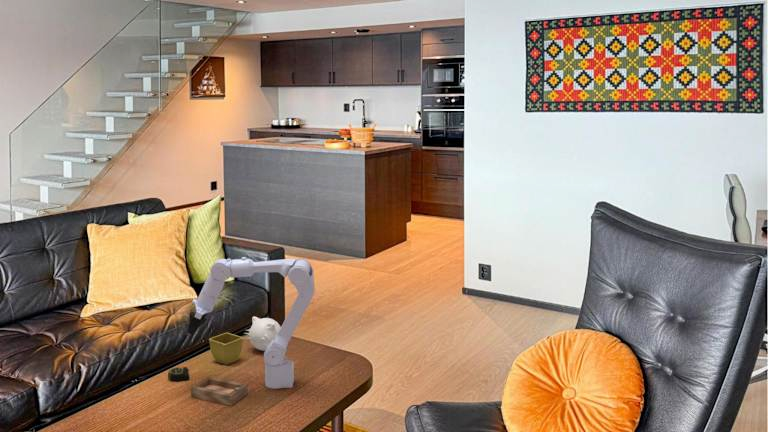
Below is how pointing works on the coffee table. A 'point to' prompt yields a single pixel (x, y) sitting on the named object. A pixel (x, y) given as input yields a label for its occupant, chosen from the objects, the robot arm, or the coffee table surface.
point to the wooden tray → (219, 391)
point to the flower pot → (226, 347)
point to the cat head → (262, 332)
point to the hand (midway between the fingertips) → (193, 328)
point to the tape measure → (178, 374)
